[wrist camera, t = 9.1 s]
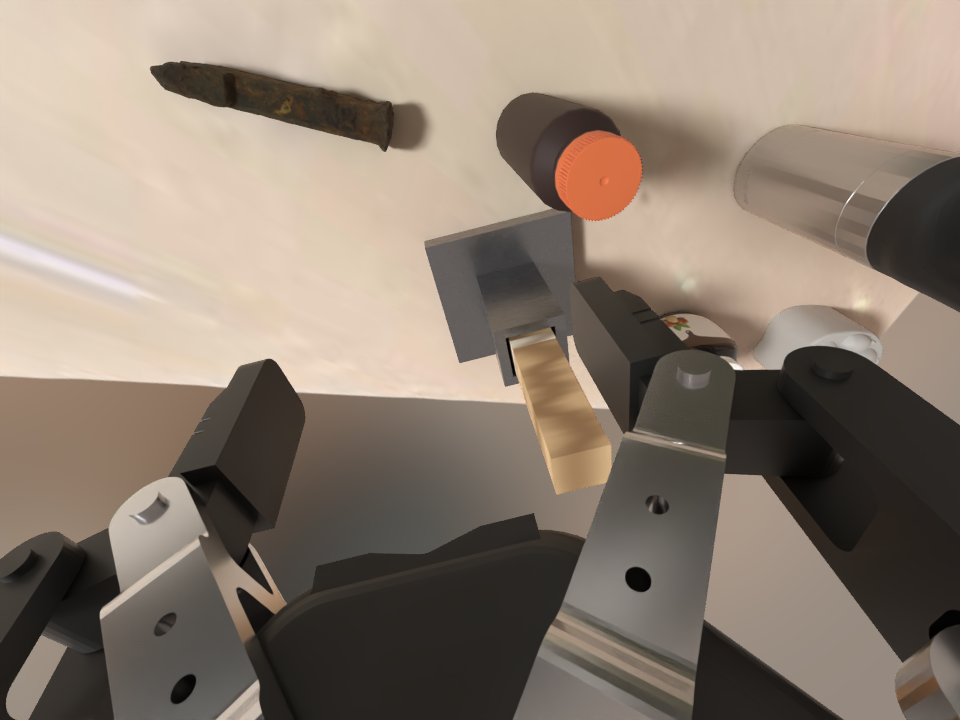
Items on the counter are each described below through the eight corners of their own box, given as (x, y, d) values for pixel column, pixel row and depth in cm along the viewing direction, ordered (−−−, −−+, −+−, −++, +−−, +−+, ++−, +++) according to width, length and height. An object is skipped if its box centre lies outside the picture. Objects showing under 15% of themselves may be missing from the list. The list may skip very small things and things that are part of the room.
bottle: (505, 179, 43) (560, 250, 27) (486, 107, 39) (538, 142, 23) (567, 156, 43) (661, 214, 27) (554, 80, 39) (655, 97, 23)
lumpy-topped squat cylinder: (781, 303, 58) (831, 336, 51) (857, 306, 60) (915, 339, 54) (745, 363, 64) (786, 400, 57) (816, 364, 66) (863, 400, 60)
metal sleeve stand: (564, 205, 46) (614, 253, 35) (574, 325, 56) (615, 393, 44) (424, 241, 46) (429, 300, 35) (458, 354, 56) (470, 429, 45)
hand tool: (396, 102, 38) (394, 106, 35) (389, 148, 41) (387, 157, 37) (160, 28, 34) (128, 23, 30) (166, 85, 36) (137, 88, 32)
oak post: (536, 300, 43) (611, 444, 27) (540, 332, 45) (611, 481, 29) (498, 309, 43) (550, 458, 27) (505, 341, 46) (556, 494, 30)
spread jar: (709, 306, 57) (768, 355, 47) (688, 371, 63) (736, 425, 54) (625, 315, 56) (668, 366, 46) (612, 380, 62) (647, 437, 53)
